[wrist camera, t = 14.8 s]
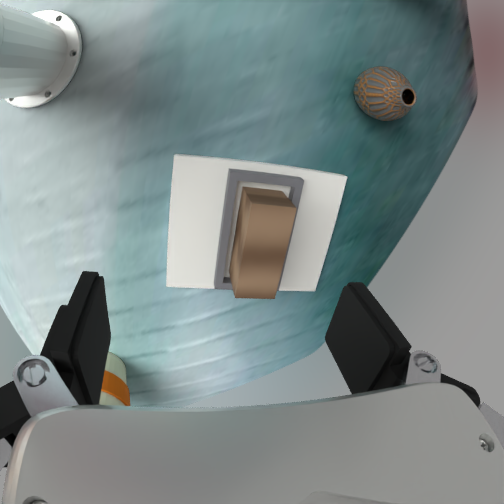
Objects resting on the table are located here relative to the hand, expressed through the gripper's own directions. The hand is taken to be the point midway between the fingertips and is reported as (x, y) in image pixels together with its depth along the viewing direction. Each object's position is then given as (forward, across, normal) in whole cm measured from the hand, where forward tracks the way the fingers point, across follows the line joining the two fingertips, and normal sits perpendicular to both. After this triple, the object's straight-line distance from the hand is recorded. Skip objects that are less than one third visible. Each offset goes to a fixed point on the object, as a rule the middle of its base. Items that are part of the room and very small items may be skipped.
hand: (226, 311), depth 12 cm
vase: (+28, -20, -12) cm, 37 cm away
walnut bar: (+27, -8, +9) cm, 30 cm away
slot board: (+28, -8, +9) cm, 31 cm away
